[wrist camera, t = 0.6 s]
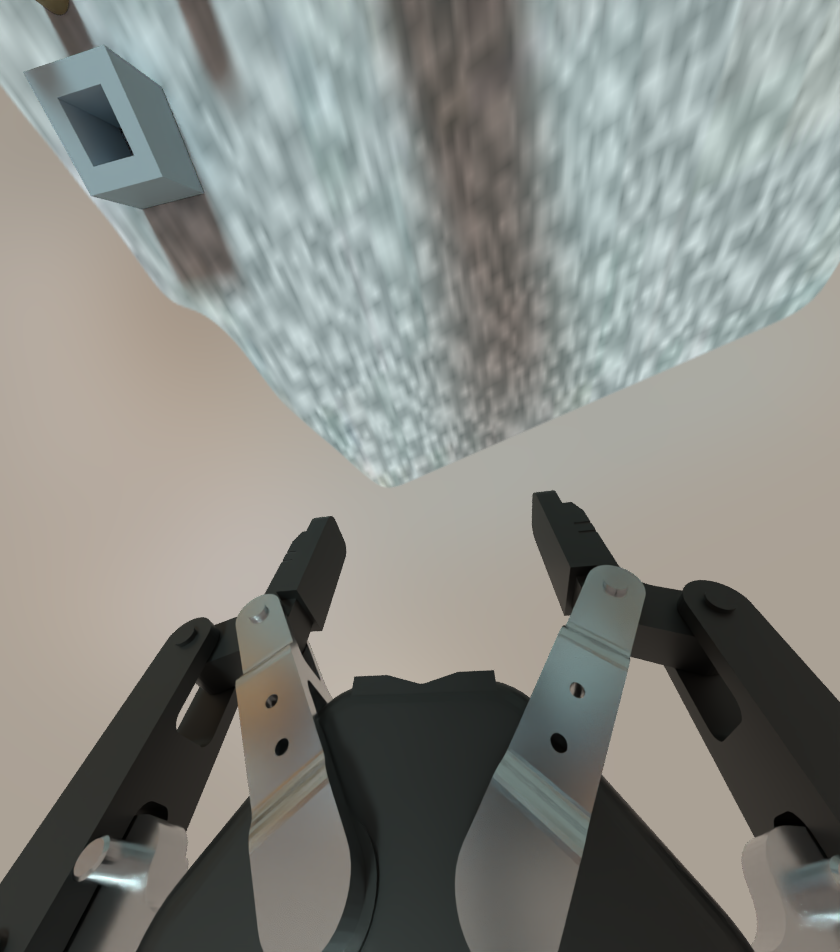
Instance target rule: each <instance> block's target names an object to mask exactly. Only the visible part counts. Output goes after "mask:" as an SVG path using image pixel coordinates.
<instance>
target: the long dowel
mask: <svg viewBox="0 0 840 952" xmlns="http://www.w3.org/2000/svg"><path fill="white" fill-rule="evenodd" d="M36 1H37V2H38V3H40V4H41V5H43V6H44V7H45V8H47V9H48V10H50V11H51V12H53V13H54V14H57V15H63V14H64V13H66V11H67V9H68V5H69V0H36Z"/></svg>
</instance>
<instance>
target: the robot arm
mask: <svg viewBox="0 0 840 952" xmlns="http://www.w3.org/2000/svg"><path fill="white" fill-rule="evenodd" d="M532 528H533V534H534V538H535V541H536V543H537V546H538V548H539V551H540V554H541V556H542V559H543V561H544V564H545V566H546V569H547V572H548V574H549V577H550V580H551V582H552V585H553V588H554V590H555V593H556V595H557V598H558V600H559V603H560V606H561V608H562V611H563V613H564V616H566V615H570V618H569V620H568V622H567V624H566V626H562V628H561V630H560V632H559V634H558V636H557V638H556V641H555V643H554V645H553V647H552V650H551V652H550V654H549V656H548V659H547V661H546V663H545V666H544V668H543V670H542V672H541V675H540V677H539V679H538V681H537V684H536V686H535V688H534V691H533V693H532V695H531V697H530V698H529V697H528V696H527V695H525V694H524V693H522V692H521V691H519V690H517V689H515V688H514V687H511V686H509V685H506V684H504V683H500V682H496V681H495V675H494V670H491V671H469V672H457V673H454V674H451V675H448V676H445V677H442V678H439V679H436V680H433V681H430V682H427V683H424V684H418V683H415V682H411V681H407V680H403V679H399V678H396V677H392V676H388V675H381V676H359V677H354V682H353V688H352V689H350V690H348V691H346V692H344V693H342V694H340V695H339V696H337V697H335V698H334V699H333V698H332V697H331V695H330V693H329V691H328V689H327V687H326V685H325V682H324V680H323V677H322V674H321V672H320V669H319V667H318V664H317V662H316V659H315V656H314V654H313V651H312V648H311V646H310V643H309V642H308V637H309V634H310V632H312V631H322V629H323V627H324V623H325V620H326V617H327V614H328V611H329V608H330V604H331V601H332V598H333V595H334V592H335V589H336V585H337V582H338V579H339V576H340V573H341V570H342V566H343V563H344V560H345V557H346V545H345V541H344V539H343V537H342V534H341V532H340V530H339V527H338V525H337V523H336V521H335V519H334V517H332V516H328V517H319V518H314V519H312V521H311V523H310V525H309V527H308V529H307V531H305V532H302V533H301V534H300V535H299V536H298V537H297V538H296V539H295V540H294V541H293V542H292V544H291V546H290V548H289V550H288V552H287V554H286V555H285V557H284V559H283V562H282V563H281V564H280V566H279V568H278V570H277V572H276V574H275V576H274V578H273V579H272V581H271V583H270V585H269V587H268V589H267V591H266V593H265V594H264V595H261V596H259V597H257V598H255V599H253V600H252V601H250V602H249V603H248V604H247V605H246V606H245V607H244V608H243V609H242V610H241V611H240V613H239V615H238V617H235V618H233V619H230V620H227V621H225V622H222V623H219V624H216V625H213V623H212V622H210V620H209V619H207V618H204V617H201V618H196V619H193V620H191V621H189V622H187V623H185V624H184V625H182V626H181V627H180V628H178V629H177V630H176V631H175V632H174V633H173V634H172V635H171V636H170V637H169V638H168V640H167V641H166V643H165V644H164V646H163V647H162V648H161V650H160V651H159V653H158V654H157V656H156V657H155V659H154V660H153V662H152V663H151V664H150V666H149V667H148V669H147V670H146V672H145V673H144V675H143V676H142V678H141V679H140V681H139V682H138V683H137V685H136V686H135V688H134V689H133V691H132V693H131V694H130V695H129V697H128V698H127V700H126V701H125V703H124V704H123V705H122V707H121V708H120V710H119V711H118V713H117V714H116V716H115V717H114V719H113V720H112V722H111V723H110V724H109V726H108V727H107V729H106V730H105V732H104V733H103V735H102V736H101V738H100V739H99V741H98V742H97V743H96V745H95V746H94V748H93V749H92V751H91V752H90V754H89V755H88V756H87V758H86V759H85V761H84V762H83V764H82V765H81V767H80V768H79V770H78V771H77V772H76V774H75V775H74V777H73V778H72V780H71V781H70V783H69V784H68V786H67V787H66V789H65V790H64V791H63V793H62V794H61V796H60V797H59V799H58V800H57V802H56V803H55V805H54V806H53V808H52V809H51V811H50V812H49V813H48V815H47V816H46V818H45V819H44V821H43V822H42V824H41V825H40V827H39V828H38V829H37V831H36V832H35V834H34V835H33V837H32V838H31V840H30V841H29V843H28V844H27V845H26V847H25V848H24V850H23V851H22V853H21V854H20V856H19V857H18V859H17V860H16V862H15V863H14V864H13V866H12V867H11V869H10V870H9V872H8V873H7V875H6V876H5V878H4V879H3V881H2V882H1V884H0V952H840V702H839V701H838V700H837V698H836V697H835V696H834V695H833V694H832V693H831V692H830V691H829V689H828V688H827V687H826V686H825V685H824V684H823V683H822V682H821V681H820V679H819V678H818V677H817V676H816V675H815V674H814V673H813V672H812V671H811V669H810V668H809V667H808V666H807V665H806V664H805V663H804V661H803V660H802V659H801V658H800V657H799V656H798V655H797V654H796V653H795V651H794V650H793V649H792V648H791V647H790V646H789V645H788V644H787V643H786V641H785V640H784V639H783V638H782V637H781V636H780V635H779V634H778V632H777V631H776V630H775V629H774V628H773V627H772V626H771V625H770V623H769V622H768V621H767V620H766V619H765V618H764V617H763V616H762V614H761V613H760V612H759V611H758V610H757V609H756V608H755V607H754V605H753V604H752V603H751V602H750V601H749V600H748V599H747V598H745V597H744V596H743V595H742V594H740V593H739V592H737V591H736V590H734V589H732V588H730V587H728V586H725V585H723V584H720V583H717V582H713V581H706V580H697V581H692V582H690V583H688V584H687V585H685V587H684V588H683V591H681V590H675V589H669V588H663V587H657V586H653V585H648V584H645V583H642V582H641V581H640V580H639V578H638V577H636V576H635V575H634V574H633V573H631V572H629V571H628V570H626V569H623V568H621V567H619V565H618V564H617V562H616V561H615V559H614V558H613V556H612V555H611V553H610V551H609V550H608V548H607V547H606V545H605V544H604V542H603V540H602V539H601V537H600V536H599V534H598V533H597V532H596V530H595V528H594V526H593V525H592V523H590V520H589V519H588V517H587V515H586V514H585V512H584V511H583V510H582V509H580V508H579V507H578V506H576V505H575V504H573V503H572V502H568V503H562V502H561V500H560V498H559V497H558V495H557V493H556V492H555V491H553V490H552V491H544V492H536V493H533V499H532ZM630 657H634V658H638V659H642V660H646V661H650V662H654V663H657V664H661V665H664V667H665V668H666V670H667V672H668V674H669V676H670V678H671V680H672V682H673V683H674V685H675V687H676V689H677V691H678V693H679V695H680V697H681V699H682V701H683V703H684V704H685V706H686V708H687V710H688V712H689V714H690V716H691V718H692V720H693V721H694V723H695V725H696V727H697V729H698V731H699V733H700V735H701V736H702V738H703V740H704V742H705V744H706V746H707V748H708V750H709V752H710V754H711V755H712V757H713V759H714V761H715V763H716V765H717V767H718V768H719V771H720V773H721V774H722V776H723V778H724V780H725V782H726V784H727V786H728V787H729V790H730V791H731V793H732V795H733V797H734V799H735V801H736V803H737V805H738V806H739V808H740V810H741V812H742V814H743V816H744V818H745V820H746V822H747V824H748V825H749V827H750V829H751V831H752V833H753V835H754V837H755V838H753V839H752V840H750V841H749V842H747V844H746V845H745V847H744V849H743V852H742V869H743V873H744V877H745V880H746V883H747V886H748V888H749V891H750V894H751V896H752V899H753V902H754V906H755V910H756V917H757V933H756V936H755V940H754V942H753V943H752V945H750V944H749V942H748V941H747V939H746V938H745V937H744V936H743V934H742V933H741V931H740V930H739V929H738V927H737V926H736V925H735V923H734V922H733V921H732V920H731V919H730V917H729V916H728V915H727V914H726V912H725V911H724V910H723V909H722V908H721V907H720V906H719V905H718V903H717V902H716V901H715V900H714V899H713V898H712V897H711V896H710V895H709V893H708V892H707V891H706V890H705V889H704V888H703V887H702V886H701V884H700V883H699V882H698V881H697V880H696V879H695V878H694V877H693V876H692V874H691V873H690V872H689V871H688V870H687V869H686V868H685V867H684V866H683V865H682V863H681V862H680V861H679V860H678V859H677V858H676V857H675V856H674V855H673V853H672V852H671V851H670V850H669V849H668V848H667V847H666V846H665V845H664V843H663V842H662V841H661V840H660V839H659V838H658V837H657V836H656V834H655V833H654V832H653V831H652V830H651V829H650V828H649V827H648V826H647V824H646V823H645V822H644V821H643V820H642V819H641V818H640V817H639V816H638V815H637V813H636V812H635V811H634V810H633V809H632V808H631V807H630V806H629V805H628V803H627V802H626V801H625V800H624V799H623V798H622V797H621V796H620V794H619V793H618V792H617V791H616V790H615V789H614V788H613V787H612V786H611V785H610V783H609V782H608V781H607V780H606V779H605V778H604V777H603V776H602V770H603V766H604V763H605V758H606V754H607V751H608V747H609V742H610V739H611V735H612V731H613V727H614V723H615V719H616V715H617V711H618V707H619V703H620V699H621V695H622V691H623V688H624V684H625V679H626V676H627V672H628V667H629V663H630ZM195 683H196V684H197V685H198V686H200V687H199V689H198V691H197V693H196V695H195V697H194V699H193V701H192V703H191V705H190V707H189V708H188V710H187V712H186V714H185V716H184V718H183V720H182V722H181V724H180V726H179V727H178V729H176V721H177V717H178V714H179V712H180V710H181V708H182V706H183V705H184V703H185V701H186V699H187V697H188V696H189V694H190V692H191V690H192V688H193V686H194V684H195ZM237 707H238V709H239V717H240V725H241V732H242V740H243V747H244V756H245V764H246V771H247V779H248V787H249V794H250V796H249V797H248V798H247V799H246V801H245V802H244V803H243V804H242V805H241V807H240V808H239V809H238V810H237V811H236V813H235V814H234V815H233V816H232V818H231V819H230V820H229V821H228V823H227V824H226V825H225V826H224V827H223V828H222V830H221V831H220V832H219V833H218V835H217V836H216V837H215V838H214V839H213V841H212V842H211V843H210V844H209V846H208V847H207V848H206V849H205V850H204V852H203V853H202V854H201V855H200V856H199V858H198V859H197V860H196V861H195V862H194V864H193V865H192V866H191V867H190V869H189V870H188V859H187V858H186V852H187V843H188V842H187V834H186V831H187V828H188V826H189V823H190V821H191V818H192V816H193V814H194V811H195V809H196V806H197V804H198V801H199V799H200V797H201V794H202V792H203V789H204V787H205V784H206V782H207V780H208V777H209V775H210V772H211V770H212V767H213V765H214V763H215V760H216V758H217V755H218V753H219V750H220V748H221V746H222V743H223V741H224V738H225V736H226V733H227V731H228V729H229V726H230V724H231V721H232V719H233V716H234V714H235V712H236V709H237Z"/></svg>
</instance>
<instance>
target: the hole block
mask: <svg viewBox="0 0 840 952" xmlns="http://www.w3.org/2000/svg"><path fill="white" fill-rule="evenodd" d="M23 73H24V75H25V77H26V78H27V80H28V82H29V84H30V86H31V88H32V89H33V91H34V93H35V95H36V97H37V98H38V100H39V102H40V104H41V106H42V108H43V109H44V111H45V113H46V115H47V117H48V118H49V120H50V122H51V124H52V126H53V128H54V129H55V131H56V133H57V135H58V137H59V138H60V140H61V142H62V144H63V146H64V148H65V149H66V151H67V153H68V155H69V157H70V158H71V160H72V162H73V164H74V166H75V168H76V169H77V171H78V173H79V175H80V177H81V179H82V180H83V182H84V184H85V186H86V188H87V189H88V191H89V193H90V195H91V196H93V197H97V198H101V199H105V200H109V201H113V202H116V203H120V204H124V205H128V206H132V207H136V208H139V209H144V208H148V207H152V206H156V205H160V204H164V203H168V202H172V201H176V200H179V199H183V198H187V197H191V196H195V195H199V194H203V193H204V192H203V189H202V187H201V184H200V182H199V179H198V177H197V174H196V172H195V169H194V167H193V165H192V162H191V160H190V157H189V155H188V152H187V150H186V147H185V145H184V142H183V140H182V137H181V135H180V132H179V130H178V127H177V125H176V122H175V120H174V117H173V115H172V112H171V110H170V107H169V105H168V102H167V100H166V97H165V95H164V92H163V90H162V87H161V86H160V85H158V84H157V83H156V82H154V81H153V80H151V79H150V78H149V77H147V76H146V75H145V74H143V73H142V72H141V71H139V70H138V69H136V68H135V67H134V66H132V65H131V64H130V63H128V62H127V61H125V60H124V59H123V58H121V57H120V56H119V55H117V54H116V53H114V52H113V51H112V50H110V49H109V48H108V47H106V46H105V45H102V46H99V47H96V48H93V49H90V50H87V51H84V52H81V53H78V54H75V55H72V56H69V57H66V58H64V59H61V60H58V61H55V62H52V63H49V64H46V65H43V66H40V67H37V68H34V69H31V70H28V71H25V72H23ZM119 128H122V130H123V132H124V135H125V137H126V139H127V141H128V143H129V145H130V147H131V150H132V152H133V154H134V156H132V155H131V153H130V151H129V149H128V147H127V144H126V142H125V140H124V138H123V136H122V134H121V132H120V130H119Z"/></svg>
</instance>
